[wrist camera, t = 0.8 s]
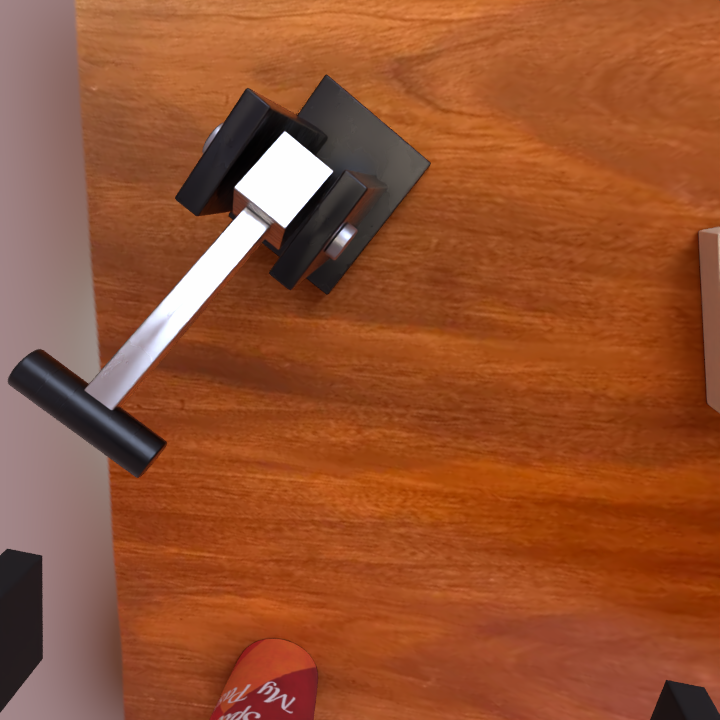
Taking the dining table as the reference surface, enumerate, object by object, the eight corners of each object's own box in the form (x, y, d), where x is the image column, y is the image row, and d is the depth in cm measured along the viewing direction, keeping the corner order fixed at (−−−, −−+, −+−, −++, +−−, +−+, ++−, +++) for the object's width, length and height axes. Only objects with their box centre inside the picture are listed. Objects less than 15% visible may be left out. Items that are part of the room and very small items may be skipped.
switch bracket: (330, 291, 34) (274, 358, 21) (233, 214, 34) (114, 233, 20) (431, 164, 32) (438, 149, 19) (329, 77, 31) (262, -1, 18)
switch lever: (143, 476, 20) (133, 481, 18) (21, 386, 20) (-7, 380, 17) (351, 221, 23) (365, 196, 21) (248, 136, 23) (252, 102, 20)
